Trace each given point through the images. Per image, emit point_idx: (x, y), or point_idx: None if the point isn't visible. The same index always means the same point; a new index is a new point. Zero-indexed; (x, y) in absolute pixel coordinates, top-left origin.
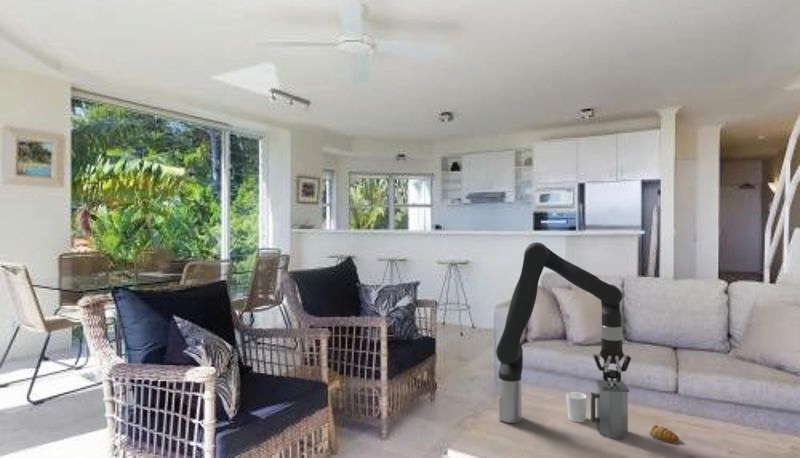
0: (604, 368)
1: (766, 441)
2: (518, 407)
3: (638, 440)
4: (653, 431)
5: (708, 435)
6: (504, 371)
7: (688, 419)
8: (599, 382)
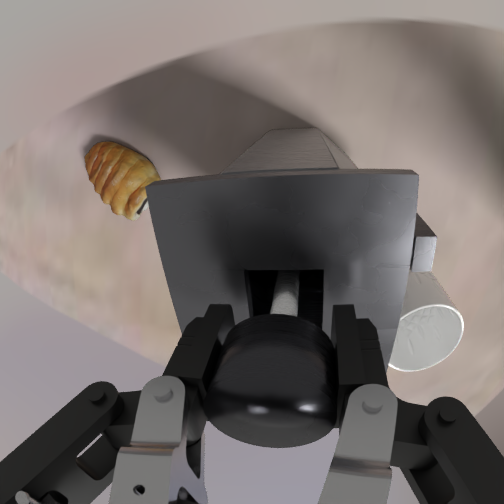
0: (392, 434)
1: None
2: None
3: (210, 132)
4: (146, 177)
5: (38, 222)
6: None
7: (75, 305)
8: (380, 336)
